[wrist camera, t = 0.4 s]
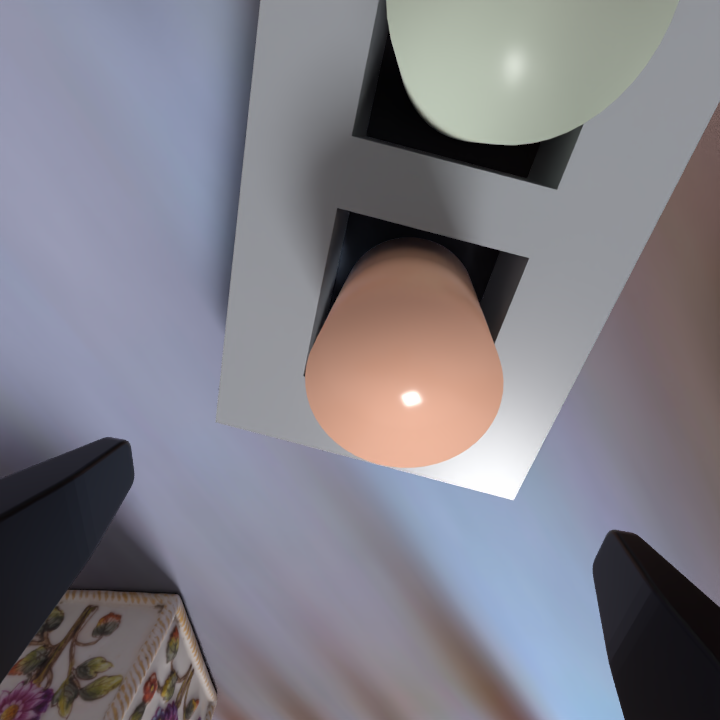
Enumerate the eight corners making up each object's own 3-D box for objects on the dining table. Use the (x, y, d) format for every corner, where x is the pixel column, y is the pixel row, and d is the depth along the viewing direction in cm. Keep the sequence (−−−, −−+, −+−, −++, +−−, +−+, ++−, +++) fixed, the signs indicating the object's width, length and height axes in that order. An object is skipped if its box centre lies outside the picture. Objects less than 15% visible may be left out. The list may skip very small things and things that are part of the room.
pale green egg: (599, -31, 12) (760, -180, 7) (529, 158, 14) (603, 173, 9) (426, -77, 12) (433, -266, 7) (382, 120, 15) (357, 109, 9)
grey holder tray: (1018, -695, 9) (1416, -1248, 5) (497, 439, 22) (513, 500, 18) (419, -850, 9) (420, -1510, 5) (249, 374, 22) (215, 422, 18)
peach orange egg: (493, 257, 16) (536, 325, 10) (449, 374, 18) (464, 486, 12) (359, 221, 16) (325, 270, 10) (331, 343, 18) (290, 441, 12)
